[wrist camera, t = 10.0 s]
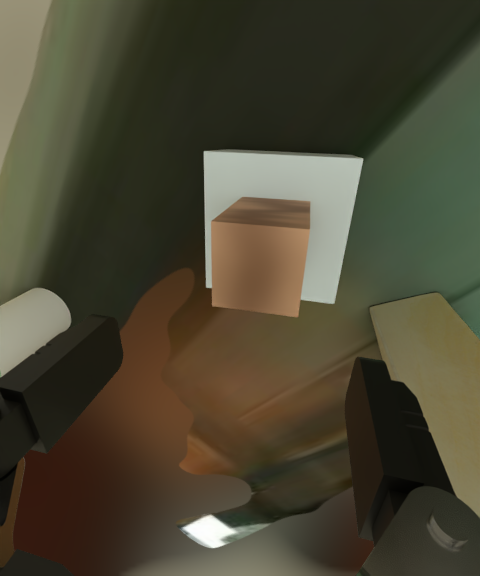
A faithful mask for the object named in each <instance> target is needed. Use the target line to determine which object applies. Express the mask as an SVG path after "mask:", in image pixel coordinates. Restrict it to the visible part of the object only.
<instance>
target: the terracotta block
mask: <svg viewBox="0 0 480 576" xmlns="http://www.w3.org/2000/svg"><path fill="white" fill-rule="evenodd" d="M309 234H310V201H300V200H285V199H270V198H255V197H241V198H240V199H239V200H238V201H236V202H235V203H234V204H232V205H231V206H230V207H229V208H227V209H226V210H225V211H223V212H222V213H221V214H220V215H218V216H217V217H216V218H215V219H213V220H212V221H211V260H212V306H217V307H224V308H232V309H239V310H247V311H254V312H261V313H269V314H276V315H284V316H291V317H298V314H299V307H300V300H301V292H302V285H303V278H304V270H305V263H306V256H307V248H308V241H309Z"/></svg>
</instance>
